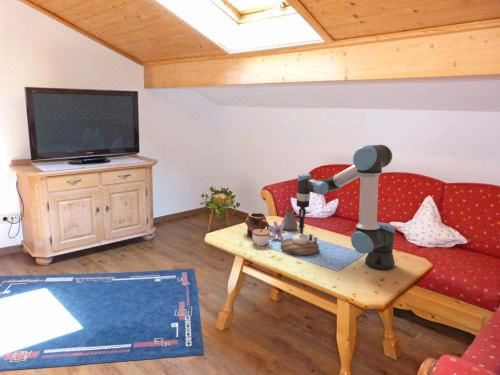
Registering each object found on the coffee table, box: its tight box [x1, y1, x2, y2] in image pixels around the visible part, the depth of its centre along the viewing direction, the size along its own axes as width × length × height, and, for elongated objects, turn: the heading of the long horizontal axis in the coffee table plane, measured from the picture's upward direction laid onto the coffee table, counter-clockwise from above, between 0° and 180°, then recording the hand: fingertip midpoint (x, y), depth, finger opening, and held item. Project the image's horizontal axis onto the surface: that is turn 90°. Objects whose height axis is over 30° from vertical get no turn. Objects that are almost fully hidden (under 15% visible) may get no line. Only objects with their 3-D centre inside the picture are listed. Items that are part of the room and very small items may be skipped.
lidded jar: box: [251, 228, 271, 247], centre depth 235 cm, size 11×11×9 cm
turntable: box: [280, 236, 319, 256], centre depth 228 cm, size 22×22×6 cm
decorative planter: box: [244, 212, 270, 238], centre depth 248 cm, size 20×12×14 cm, turn 48°
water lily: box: [268, 220, 288, 242], centre depth 246 cm, size 15×15×9 cm
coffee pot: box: [280, 209, 312, 232], centre depth 261 cm, size 21×12×15 cm, turn 53°
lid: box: [292, 233, 309, 245], centre depth 231 cm, size 9×9×5 cm
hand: (300, 237), depth 236 cm, fingers closed
